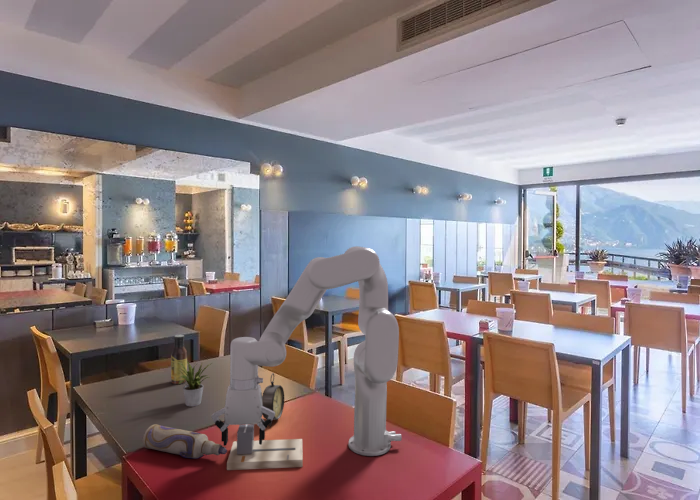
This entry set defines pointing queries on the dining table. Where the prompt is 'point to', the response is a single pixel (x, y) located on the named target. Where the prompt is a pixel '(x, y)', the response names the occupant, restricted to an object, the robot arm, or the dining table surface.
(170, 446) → the decorative bottle
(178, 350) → the sauce bottle
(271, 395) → the alarm clock
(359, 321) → the robot arm
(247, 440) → the fader slider
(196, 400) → the house plant
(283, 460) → the fader board
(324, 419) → the dining table surface
